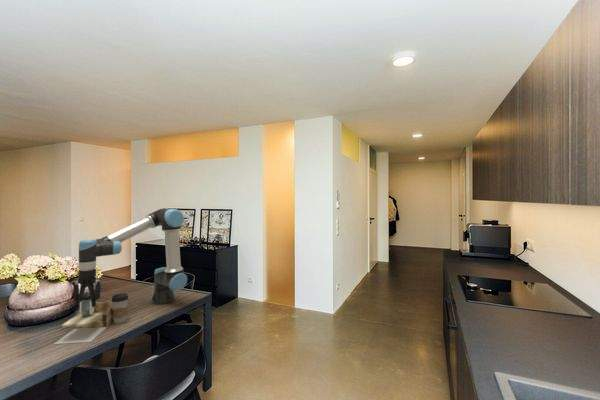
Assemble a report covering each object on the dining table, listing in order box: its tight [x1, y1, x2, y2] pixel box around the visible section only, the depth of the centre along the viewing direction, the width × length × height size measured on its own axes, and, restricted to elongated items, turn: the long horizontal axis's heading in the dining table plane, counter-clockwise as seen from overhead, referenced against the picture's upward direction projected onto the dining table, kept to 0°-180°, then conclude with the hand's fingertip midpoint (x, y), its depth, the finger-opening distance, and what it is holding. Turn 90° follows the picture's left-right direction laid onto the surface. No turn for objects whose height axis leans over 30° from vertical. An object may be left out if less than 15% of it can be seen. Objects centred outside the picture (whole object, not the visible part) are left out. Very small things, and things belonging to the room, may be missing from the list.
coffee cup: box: [110, 293, 129, 325], centre depth 165 cm, size 8×8×15 cm
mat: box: [53, 326, 108, 345], centre depth 148 cm, size 16×16×1 cm
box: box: [75, 301, 114, 329], centre depth 164 cm, size 15×16×8 cm
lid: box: [61, 299, 103, 328], centre depth 149 cm, size 12×14×9 cm
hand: (86, 313), depth 152 cm, fingers closed on lid, 4 cm apart
